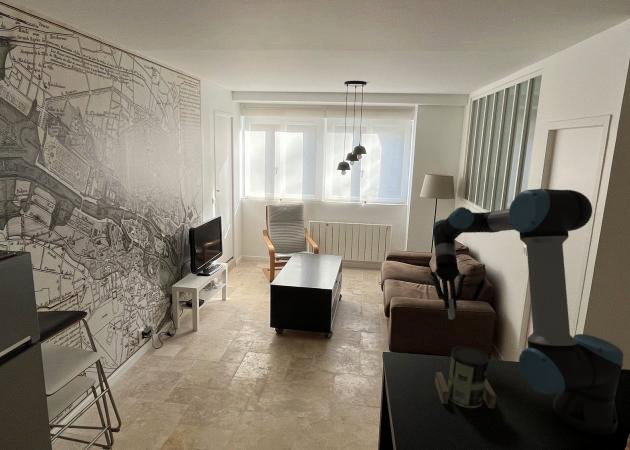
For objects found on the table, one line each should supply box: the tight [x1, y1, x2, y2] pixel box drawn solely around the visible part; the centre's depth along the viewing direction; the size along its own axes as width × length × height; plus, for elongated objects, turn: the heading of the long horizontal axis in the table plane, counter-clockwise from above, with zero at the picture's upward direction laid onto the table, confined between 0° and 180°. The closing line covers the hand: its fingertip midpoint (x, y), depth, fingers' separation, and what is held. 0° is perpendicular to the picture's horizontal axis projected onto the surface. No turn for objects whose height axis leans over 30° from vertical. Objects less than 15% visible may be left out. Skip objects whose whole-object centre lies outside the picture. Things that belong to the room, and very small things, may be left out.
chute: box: [434, 371, 497, 409], centre depth 121 cm, size 15×10×4 cm
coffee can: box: [447, 345, 490, 409], centre depth 119 cm, size 10×10×14 cm
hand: (451, 317), depth 139 cm, fingers closed
